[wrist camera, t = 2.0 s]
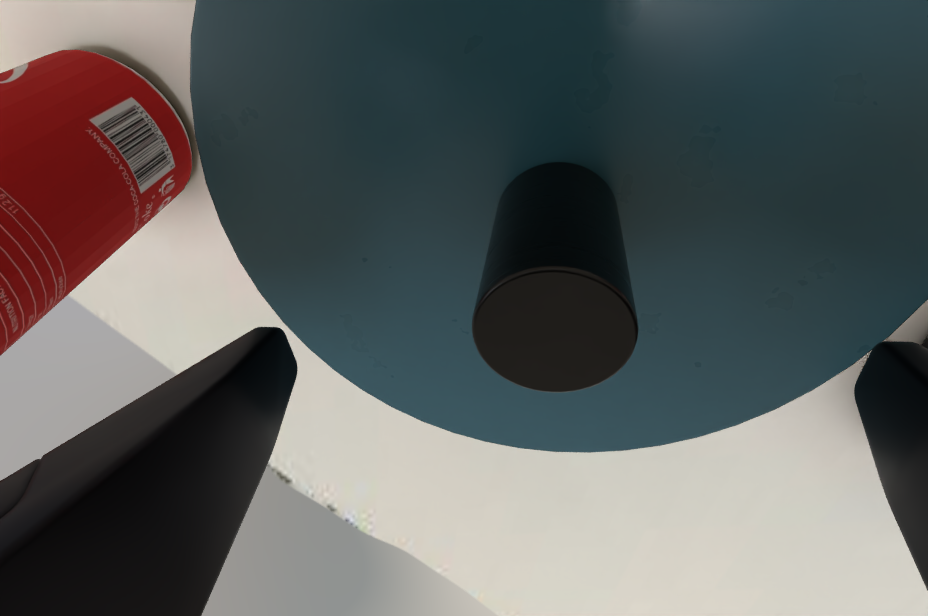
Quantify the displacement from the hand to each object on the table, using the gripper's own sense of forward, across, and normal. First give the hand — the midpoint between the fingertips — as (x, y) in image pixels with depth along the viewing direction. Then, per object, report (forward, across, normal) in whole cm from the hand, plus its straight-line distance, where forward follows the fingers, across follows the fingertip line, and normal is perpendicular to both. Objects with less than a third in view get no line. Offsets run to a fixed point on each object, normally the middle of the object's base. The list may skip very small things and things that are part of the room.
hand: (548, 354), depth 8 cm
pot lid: (+5, 0, 0) cm, 5 cm away
